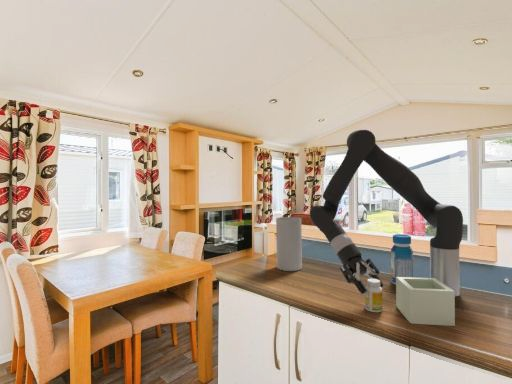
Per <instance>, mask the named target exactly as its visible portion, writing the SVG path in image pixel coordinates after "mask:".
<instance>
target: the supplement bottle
mask: <svg viewBox="0 0 512 384" xmlns="http://www.w3.org/2000/svg"><path fill="white" fill-rule="evenodd" d="M380 281H381V279H380V280H378V279H371V278H368V279H367V281H366V284H367V285H365V288H366V289H367V291H366V292H365V293H364V308H365V310H366V311H368V312H371V313H381V312H382V311H383V302H384V299H383V296H384V295H383V294H384V293H383V287H382V288H381V287H380Z"/></svg>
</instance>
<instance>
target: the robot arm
mask: <svg viewBox="0 0 512 384" xmlns="http://www.w3.org/2000/svg"><path fill="white" fill-rule="evenodd" d="M346 147H347V151H346V154H345V156H344V158H343V161H342V162H341V163H340V166H338V168H337V170H336V171H335V172H334V174H333V175H332V177H331V179H330V180H329V182H328V184H327V185H326V187H325V190H324V191H323V194H322V199H324V203H323V205H320V204H317V205H313V206H312V207H311V208H310V210H309V217H310V220H311V222H312V223H313V224H314V225H315V227H317V229H318V230H320V232H321V233H323V235H324V236H325V238H326V239H327V241H328V243H329V244H330V245H331V248H332V250H333V252H334V253H335V254H336V256H337V258H338V259H339V260H340V262H341V264H342V265H341V266H340V267H339V270H340V271H341V274H342V275H343V276H344V278H345V280H346V282H347V283H348V284H354V285H355V287H356V289H357V291H359V293H360V294H361V295H363V294H364V295H365V292H366V291H367V289H366V288H365V287H366V285H364V283H363V282H362V280H360V276H362V275H364V276H365V277H368V278H369V279H378V280H380V287H381V288H382V289H383V287H384V284H383V282H382V281H381V279H380V277H378V275H379V274H380V270H379V269H378V268H377V266H376V265H375V264H374V263H373V261H372V259H370V258H367V259H365V260H364V259H363V258H362V252H361V251H360V249H359V248H358V247H357V245H356V244H355V243H354V241H353V240H352V238H351V237H350V236H349V235H348V234H347V232H346V230H344V228H343V227H342V226H341V225H340V224H339V223H338V222H336V221H334V220H335V218H336V217H337V213H338V209H339V205H340V202H341V200H342V198H343V196H344V194H345V193H346V191H347V189H348V187H349V185H350V184H351V181H352V180H353V178H354V176H355V174H356V172H357V170H359V168H360V166H361V165H362V163H363V162H365V163H366V164H367V165H369V166H370V167H371V169H372V170H373V171H374V172H375V173H376V174H377V175H378V176H379V177H380V178H381V179H382V180H383V181H384V182H385V183H386V184H387V185H388V186H389V187H390V188H391V189H392V190H393V191H394V192H396V193H397V194H398V195H399V196H401V198H402V199H404V200H405V201H406V202H407V203H408V204H410V205H411V206H412V207H413V208H414V209H415V210H416V211H417V212H418V213H419V214H420V215H421V216H422V218H423V219H424V220H425V221H426V223H428V224H429V225H430V226H432V227H434V228H436V233H435V236H434V237H432V238H430V239H429V270H430V271H429V278H435V279H437V280H438V281H440V282H441V283H443V284H444V285H446V286H447V287H449V288H450V289H452V290H453V291H455V298H456V297H459V296H460V284H461V283H460V246H461V245H460V244H461V242H462V239H463V228H464V227H463V226H464V217H463V212H462V211H461V209H460V208H459V207H457V206H455V205H451V204H442V203H440V202H439V201H438V200H436V199H435V198H433V197H432V196H431V195H429V193H428V192H427V191H426V189H425V188H424V186H423V184H422V181H421V180H420V178H419V177H418V176H417V174H415V173H414V171H412V170H411V169H410V168H409V167H408V166H407V165H405V164H404V163H402V162H401V161H399V160H398V159H396V158H395V157H394V156H392V155H389V154H388V153H387V152H385V151H384V150H383V149H382V148H381V147H380V146H379V145H378V144H377V143H376V135H374V133H373V132H372V131H371V130H369V129H365V128H364V129H358V130H355V131H352V132H351V133H350V134H349V135H348V136H347V139H346Z"/></svg>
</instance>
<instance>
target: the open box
mask: <svg viewBox="0 0 512 384" xmlns="http://www.w3.org/2000/svg"><path fill="white" fill-rule="evenodd" d="M395 292H396V293H395V295H396V296H395V297H396V299H395V300H396V301H395V302H396V303H395V304H396V305H395V306H396V308H397V309H398V310H399V311H400V313H401V314H402V315H403V317H405V319H406V320H407V321H408V323H409V324H410V323H411V324H413V325H414V324H415V325H433V326H450V327H451V326H453V327H455V326H456V323H455V322H456V319H455V318H456V307H455V306H456V303H455V302H456V301H455V300H456V297H455V291H453V290H452V289H450V288H449V287H447V286H446V285H444V284H443V283H441V282H440V281H438V280H437V279H435V278H430V277H414V276H413V277H396V285H395Z"/></svg>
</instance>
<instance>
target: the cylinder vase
mask: <svg viewBox="0 0 512 384" xmlns="http://www.w3.org/2000/svg"><path fill="white" fill-rule="evenodd" d="M275 222H276V223H275V225H276V227H275V228H276V230H275V231H276V235H275V236H276V268H277V269H278V270H279V271H282V270H283V272H297V271H300V270H302V267H303V256H302V255H303V249H302V248H303V245H302V243H303V241H302V236H303V235H302V234H303V233H302V232H303V231H302V218H301V217H297V216H281V217H277V218H276V219H275Z"/></svg>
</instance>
